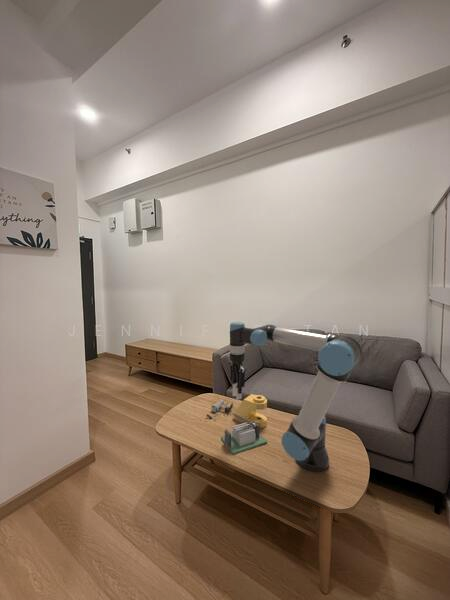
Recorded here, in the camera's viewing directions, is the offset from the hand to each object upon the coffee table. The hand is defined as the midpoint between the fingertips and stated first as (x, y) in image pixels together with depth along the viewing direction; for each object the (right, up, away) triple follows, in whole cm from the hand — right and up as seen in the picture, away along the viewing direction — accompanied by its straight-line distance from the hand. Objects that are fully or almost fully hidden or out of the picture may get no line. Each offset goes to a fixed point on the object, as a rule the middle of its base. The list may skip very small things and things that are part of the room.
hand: (237, 397), depth 127 cm
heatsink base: (+4, -24, +3) cm, 25 cm away
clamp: (+10, -23, +22) cm, 34 cm away
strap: (+4, -14, +3) cm, 14 cm away
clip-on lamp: (-10, -23, +31) cm, 40 cm away
